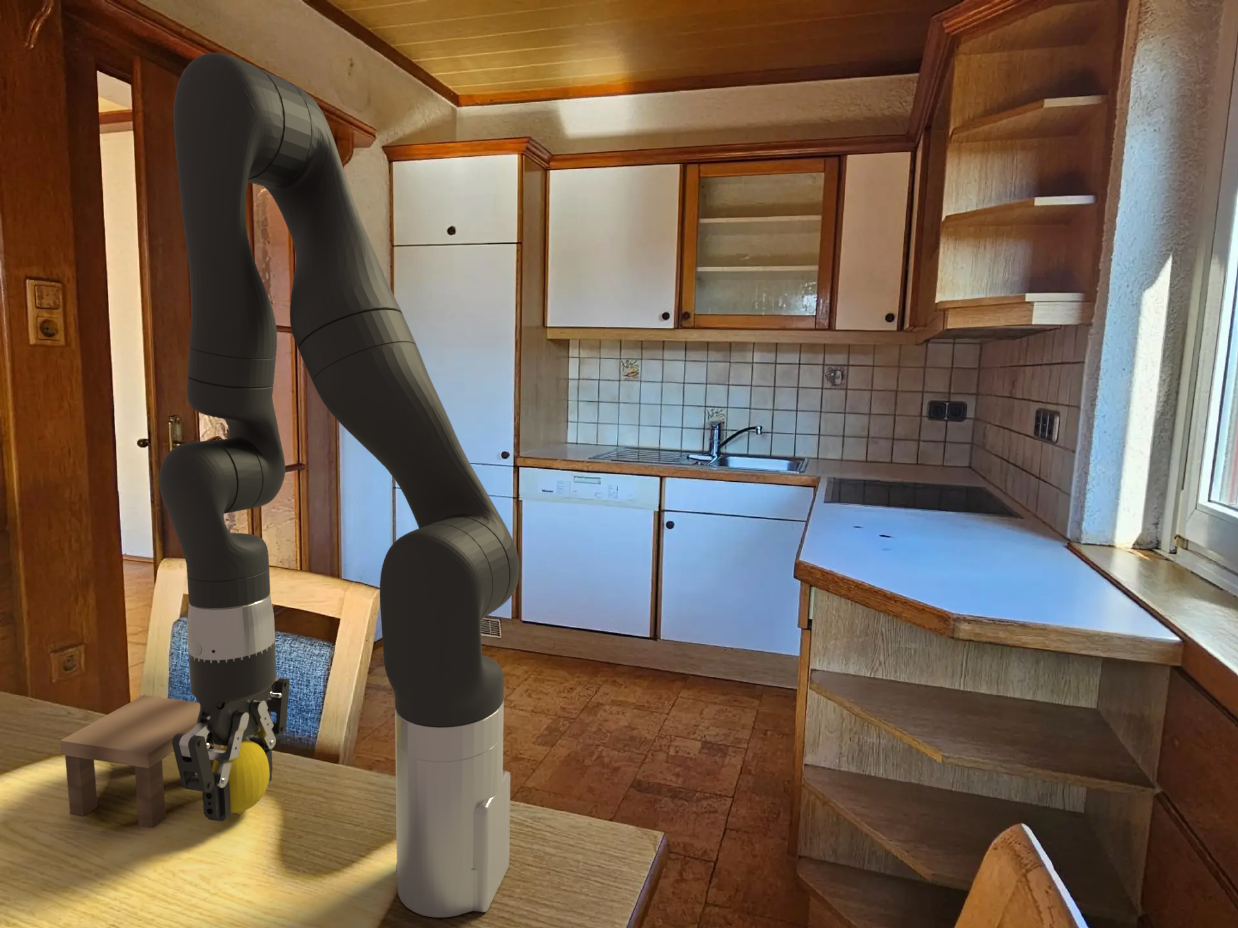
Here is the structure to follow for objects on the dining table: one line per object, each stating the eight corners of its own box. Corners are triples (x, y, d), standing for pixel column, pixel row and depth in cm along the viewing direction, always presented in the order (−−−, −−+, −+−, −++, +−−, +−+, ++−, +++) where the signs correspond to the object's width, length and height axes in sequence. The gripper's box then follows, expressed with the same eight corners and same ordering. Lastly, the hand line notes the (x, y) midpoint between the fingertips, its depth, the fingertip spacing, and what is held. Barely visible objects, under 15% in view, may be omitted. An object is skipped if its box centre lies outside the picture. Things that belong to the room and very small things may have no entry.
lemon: (246, 834, 70) (241, 757, 69) (196, 825, 72) (192, 750, 70) (282, 800, 76) (279, 729, 75) (236, 793, 77) (232, 722, 76)
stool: (225, 772, 81) (222, 705, 80) (152, 829, 71) (147, 753, 70) (147, 761, 82) (143, 695, 81) (66, 814, 73) (60, 740, 72)
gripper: (212, 676, 63) (222, 852, 66) (311, 619, 77) (315, 766, 80) (138, 667, 65) (151, 839, 67) (248, 613, 79) (255, 757, 81)
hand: (240, 798), depth 73 cm, fingers closed on lemon, 5 cm apart
